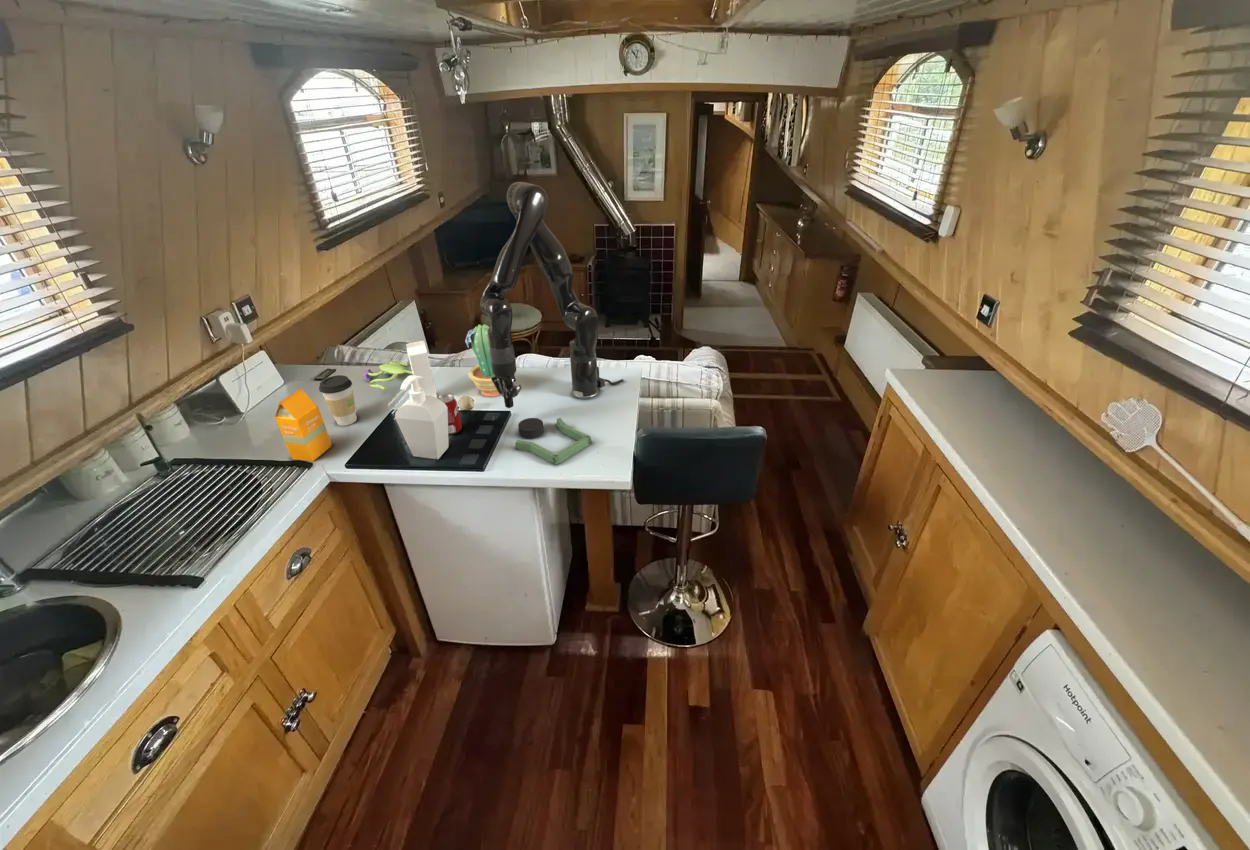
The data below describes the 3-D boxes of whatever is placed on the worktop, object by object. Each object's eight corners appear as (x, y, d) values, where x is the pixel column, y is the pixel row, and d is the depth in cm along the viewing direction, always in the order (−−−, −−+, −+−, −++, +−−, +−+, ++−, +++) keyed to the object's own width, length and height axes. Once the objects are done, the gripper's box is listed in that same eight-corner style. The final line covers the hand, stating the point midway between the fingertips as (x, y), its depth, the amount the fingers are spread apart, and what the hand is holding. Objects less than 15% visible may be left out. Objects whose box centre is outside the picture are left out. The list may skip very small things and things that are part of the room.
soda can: (456, 437, 177) (449, 404, 171) (437, 435, 178) (429, 402, 172) (465, 426, 183) (459, 394, 176) (447, 424, 184) (440, 392, 177)
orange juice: (332, 445, 174) (312, 389, 163) (312, 461, 167) (290, 403, 156) (310, 442, 175) (289, 387, 165) (290, 458, 168) (267, 401, 158)
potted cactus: (488, 378, 212) (478, 316, 199) (522, 385, 207) (514, 321, 194) (462, 395, 201) (450, 331, 187) (497, 404, 195) (487, 337, 182)
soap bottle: (402, 460, 166) (381, 384, 153) (419, 442, 175) (401, 368, 161) (439, 465, 164) (421, 387, 150) (455, 446, 172) (439, 371, 159)
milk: (418, 397, 200) (404, 340, 189) (435, 393, 202) (422, 337, 191) (420, 404, 195) (406, 346, 184) (438, 400, 198) (425, 343, 186)
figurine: (376, 401, 198) (372, 388, 195) (359, 374, 217) (355, 361, 214) (427, 387, 207) (424, 374, 204) (406, 362, 225) (403, 350, 222)
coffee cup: (369, 416, 189) (357, 377, 181) (345, 430, 181) (332, 390, 173) (348, 411, 192) (335, 372, 185) (324, 424, 185) (310, 384, 177)
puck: (532, 423, 184) (531, 415, 182) (549, 431, 179) (548, 423, 177) (514, 433, 178) (512, 425, 177) (530, 441, 174) (529, 433, 172)
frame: (559, 423, 183) (559, 417, 182) (595, 440, 174) (595, 434, 173) (515, 448, 171) (514, 441, 170) (550, 468, 162) (550, 461, 160)
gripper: (525, 360, 171) (531, 408, 180) (499, 349, 178) (505, 396, 187) (506, 368, 166) (513, 417, 175) (479, 356, 173) (487, 404, 182)
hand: (509, 406), depth 181 cm, fingers closed
